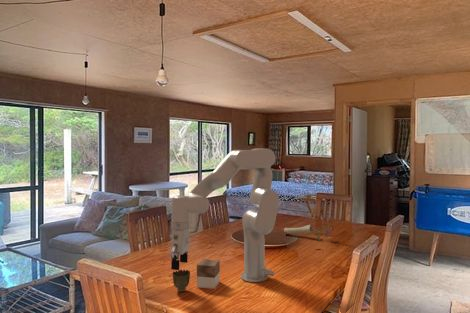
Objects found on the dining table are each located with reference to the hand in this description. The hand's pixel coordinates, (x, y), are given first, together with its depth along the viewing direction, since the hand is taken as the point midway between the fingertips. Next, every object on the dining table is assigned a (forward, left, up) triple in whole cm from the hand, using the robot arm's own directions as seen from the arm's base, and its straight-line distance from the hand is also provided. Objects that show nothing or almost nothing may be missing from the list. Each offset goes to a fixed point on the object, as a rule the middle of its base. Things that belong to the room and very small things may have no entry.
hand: (179, 265), depth 145 cm
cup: (-1, 0, -11) cm, 11 cm away
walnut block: (-10, -9, -6) cm, 15 cm away
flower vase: (-53, -97, -11) cm, 112 cm away
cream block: (-10, -10, -11) cm, 18 cm away
